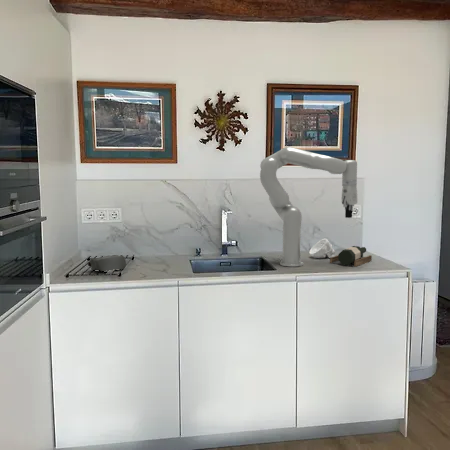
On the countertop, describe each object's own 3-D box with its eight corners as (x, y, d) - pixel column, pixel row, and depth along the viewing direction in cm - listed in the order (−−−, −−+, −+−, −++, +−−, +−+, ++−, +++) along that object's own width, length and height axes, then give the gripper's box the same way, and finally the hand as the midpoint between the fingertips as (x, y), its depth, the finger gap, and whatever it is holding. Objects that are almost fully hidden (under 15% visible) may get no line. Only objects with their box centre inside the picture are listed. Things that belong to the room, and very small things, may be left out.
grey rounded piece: (118, 266, 242) (118, 252, 241) (129, 269, 234) (129, 254, 233) (87, 271, 229) (86, 256, 228) (98, 275, 221) (97, 259, 220)
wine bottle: (355, 263, 231) (373, 254, 256) (349, 248, 232) (368, 240, 257) (341, 267, 236) (360, 258, 260) (335, 252, 237) (355, 244, 261)
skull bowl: (341, 256, 256) (331, 238, 253) (322, 269, 255) (311, 252, 252) (334, 252, 266) (324, 236, 264) (315, 265, 265) (305, 249, 262)
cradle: (329, 263, 243) (330, 257, 242) (346, 257, 258) (346, 252, 257) (355, 266, 233) (355, 261, 233) (371, 260, 248) (371, 255, 247)
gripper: (349, 183, 229) (348, 219, 231) (362, 183, 240) (361, 216, 242) (336, 183, 234) (335, 218, 236) (349, 183, 245) (348, 216, 247)
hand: (348, 217), depth 239 cm, fingers closed
